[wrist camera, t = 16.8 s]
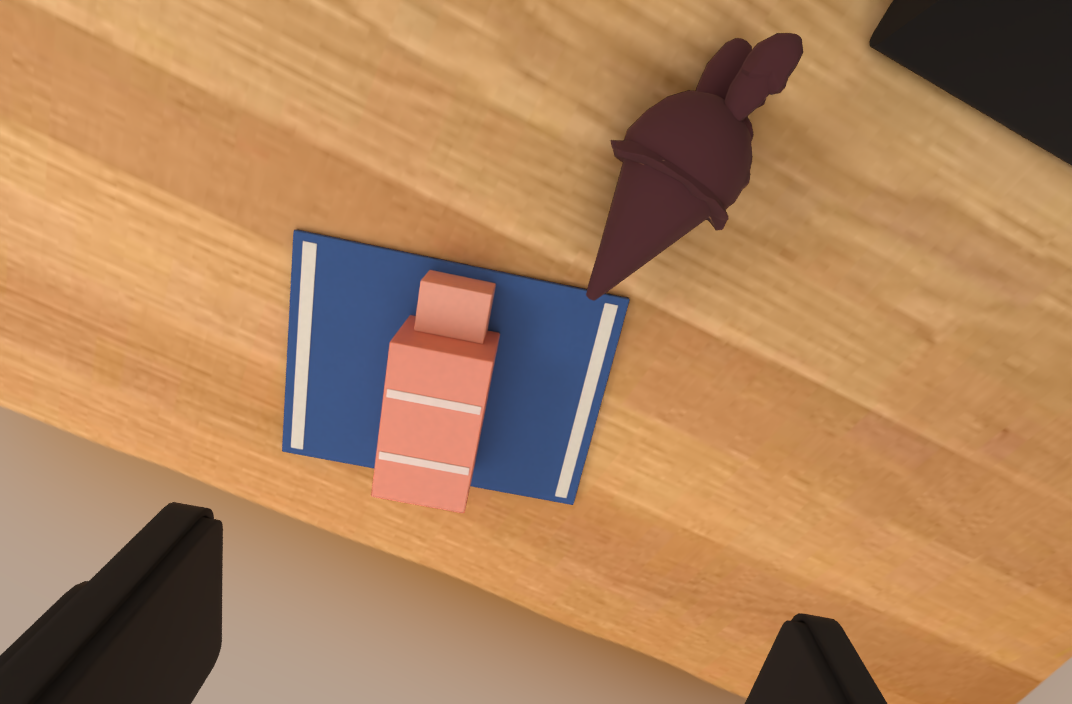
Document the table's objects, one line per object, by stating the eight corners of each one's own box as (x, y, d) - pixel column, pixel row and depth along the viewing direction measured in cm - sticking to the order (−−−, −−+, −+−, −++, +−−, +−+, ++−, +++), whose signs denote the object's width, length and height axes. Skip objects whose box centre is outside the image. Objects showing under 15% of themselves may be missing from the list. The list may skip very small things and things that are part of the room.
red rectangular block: (416, 266, 34) (395, 287, 29) (509, 285, 34) (503, 309, 29) (391, 454, 38) (370, 497, 34) (473, 469, 39) (464, 514, 34)
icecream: (667, 355, 29) (868, 86, 26) (552, 286, 26) (763, -31, 22) (617, 308, 35) (774, 85, 32) (519, 248, 32) (681, -7, 29)
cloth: (296, 229, 33) (292, 230, 33) (629, 297, 35) (630, 299, 34) (284, 448, 39) (281, 452, 38) (572, 501, 40) (573, 505, 39)
